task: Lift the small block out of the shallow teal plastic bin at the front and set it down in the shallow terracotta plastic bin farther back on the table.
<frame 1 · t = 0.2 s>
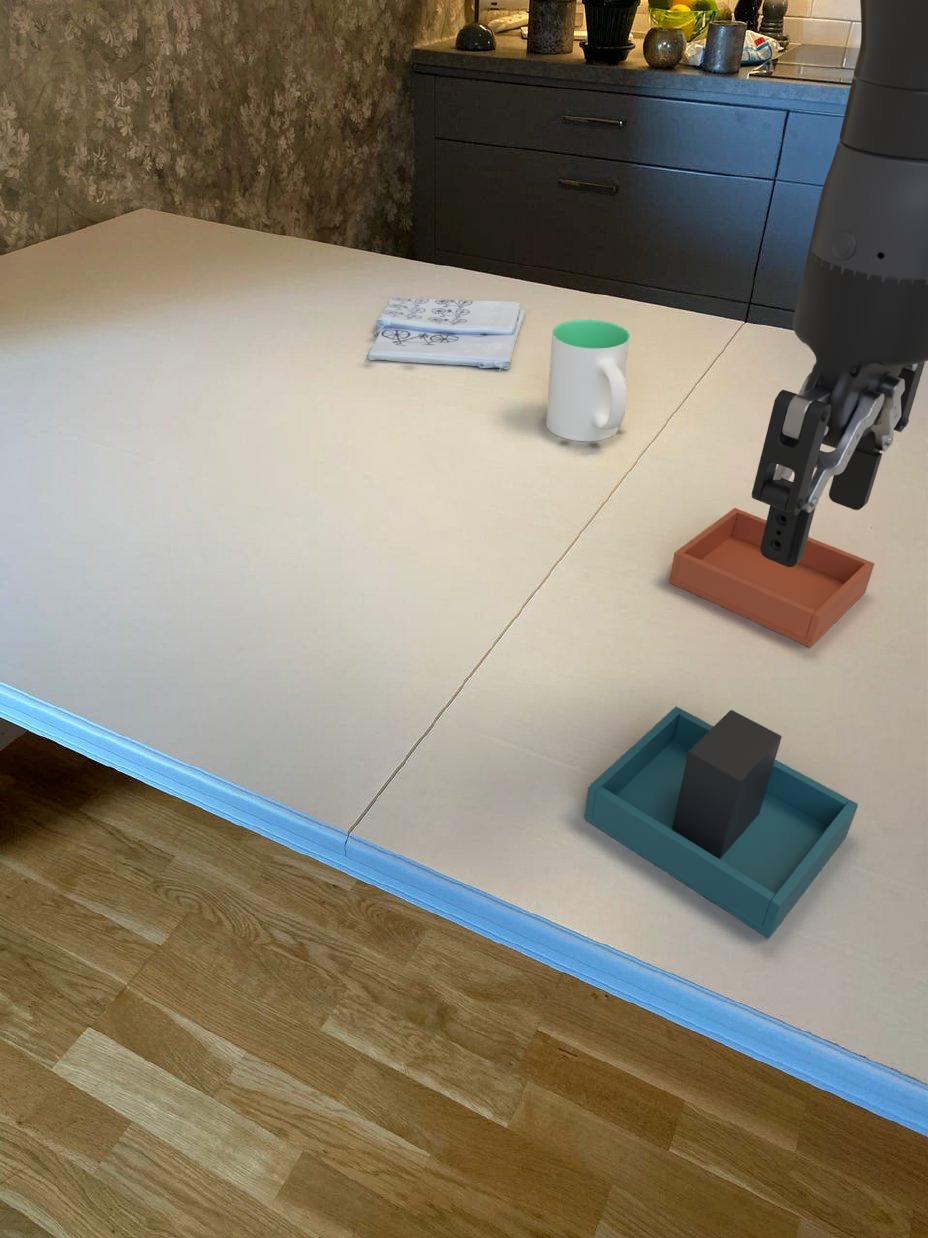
hand: (814, 530, 57), 18 cm above the table, tool pointing down, fingers open, 8 cm apart
teal bin: (714, 828, 63), on the table
terracotta bin: (766, 587, 84), on the table
block: (715, 822, 62), point 1 cm above the table, touching teal bin
light blue folded towel: (446, 339, 128), on the table
mug: (590, 433, 107), on the table
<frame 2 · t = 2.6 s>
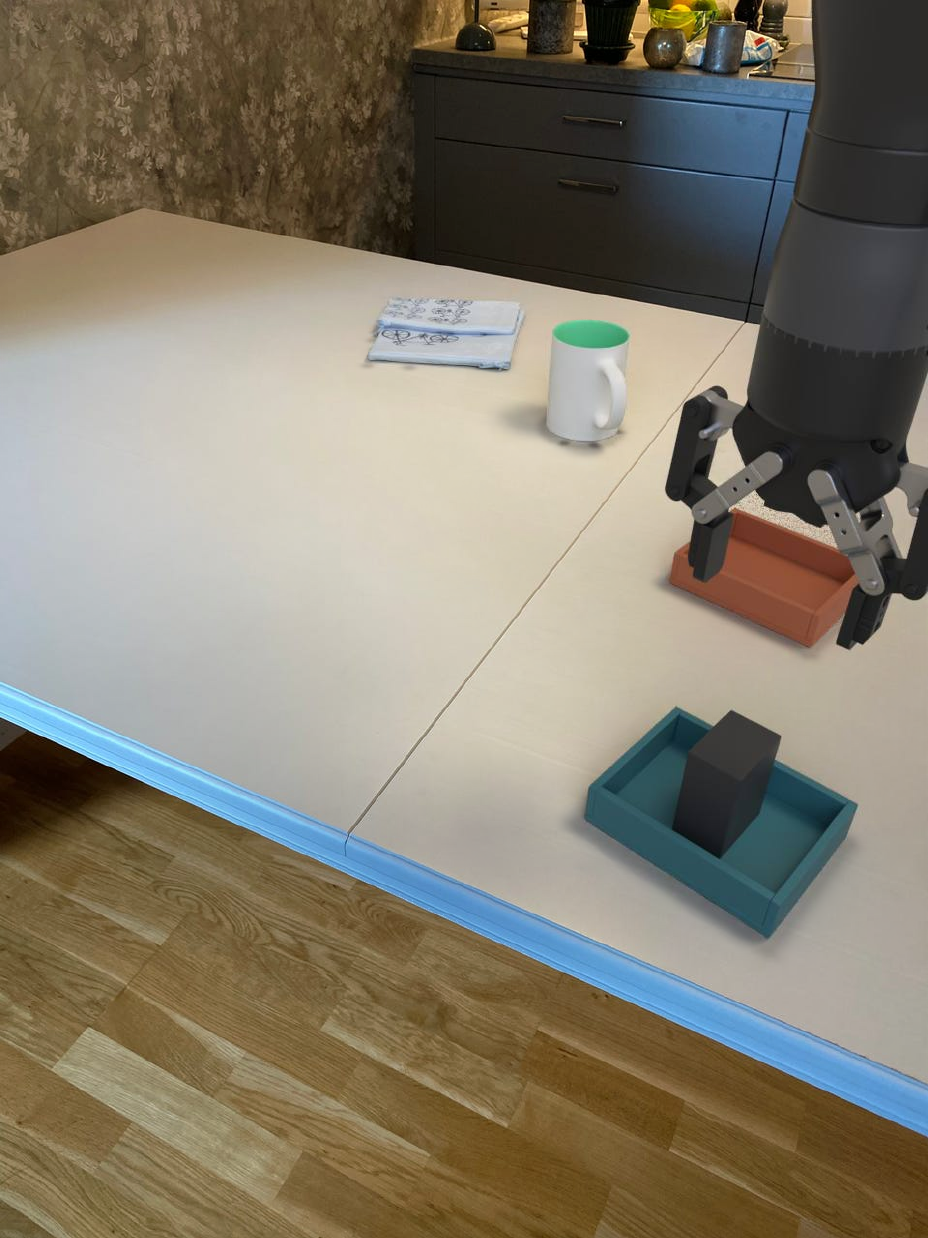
hand: (775, 606, 53), 17 cm above the table, tool pointing down, fingers open, 8 cm apart
nothing on the table moved.
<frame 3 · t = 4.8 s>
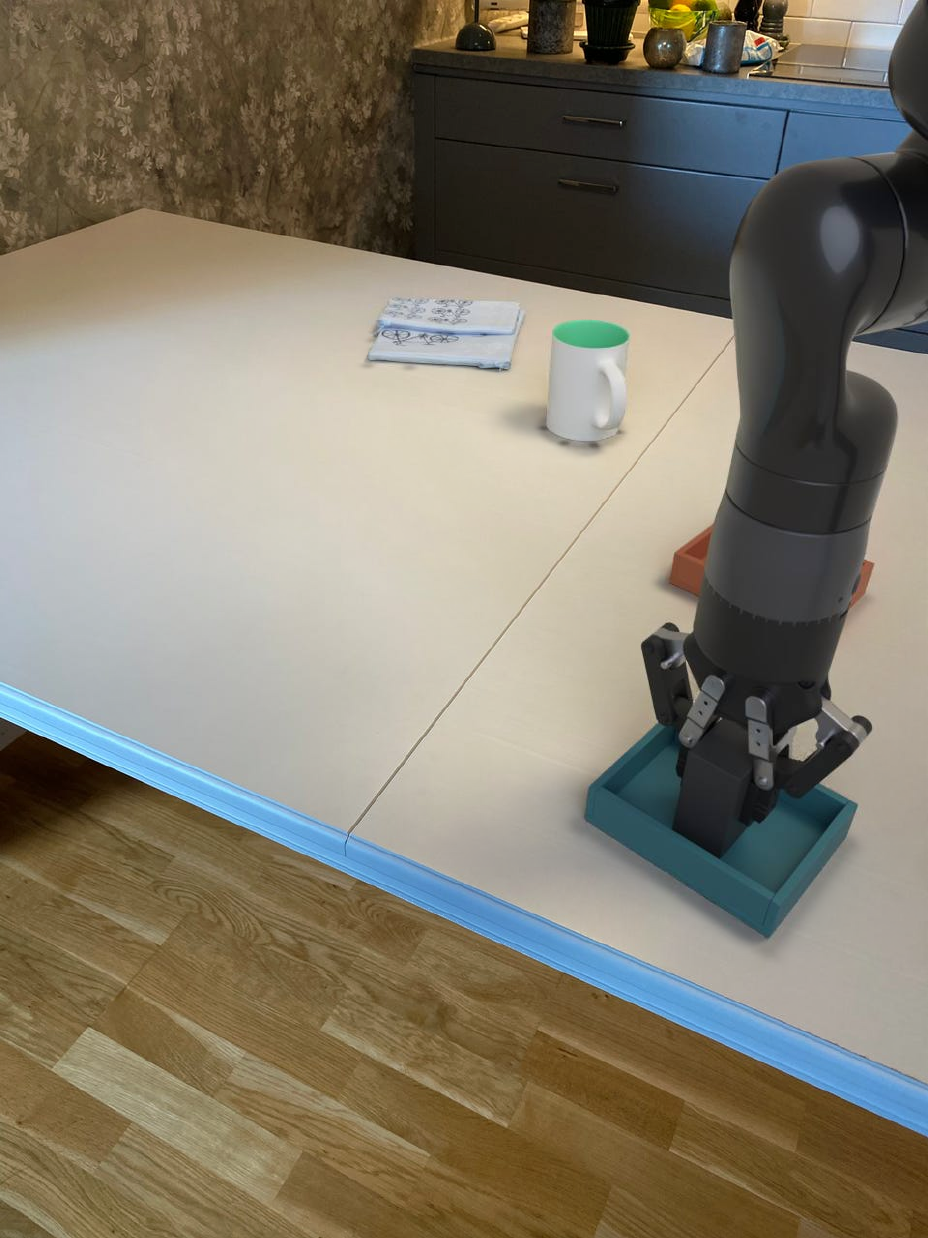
hand: (722, 798, 61), 3 cm above the table, tool pointing down, fingers closed on block, 3 cm apart
block: (715, 822, 62), point 1 cm above the table, touching gripper, teal bin
everything else where it was.
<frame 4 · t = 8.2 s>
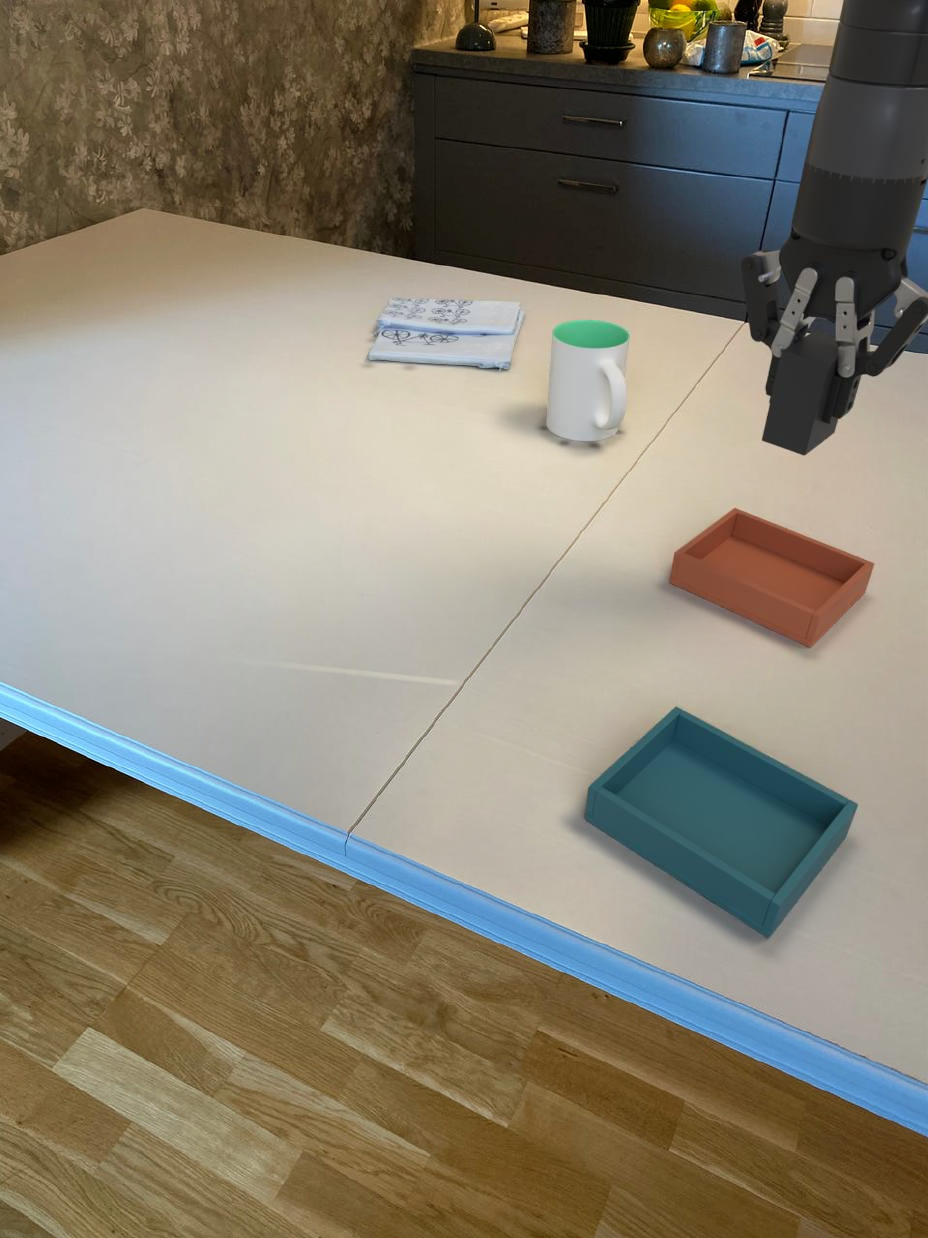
hand: (805, 409, 72), 18 cm above the table, tool pointing down, fingers closed on block, 3 cm apart
block: (798, 436, 73), point 15 cm above the table, touching gripper
everything else where it was.
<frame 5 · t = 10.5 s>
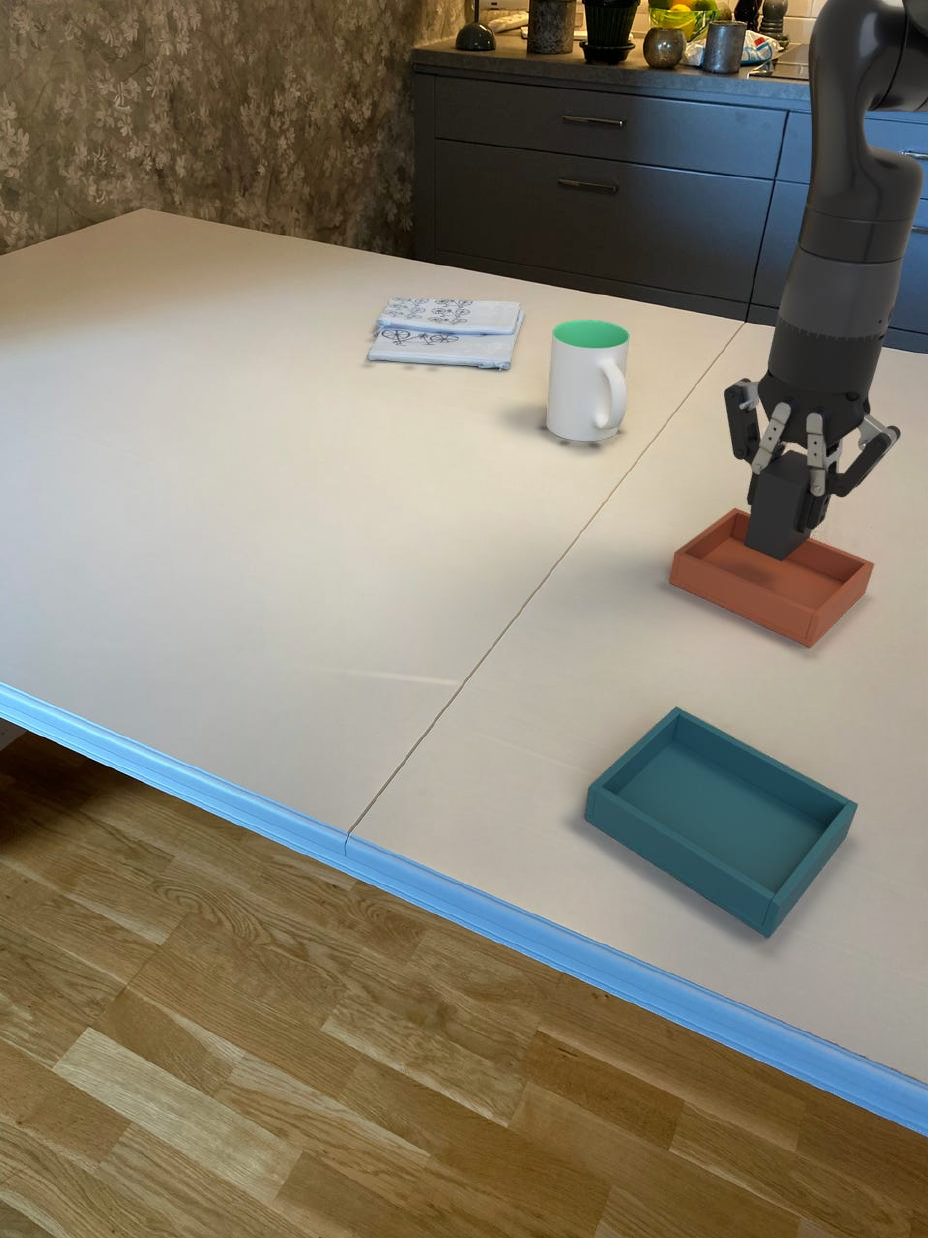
hand: (782, 519, 80), 7 cm above the table, tool pointing down, fingers closed on block, 3 cm apart
block: (776, 541, 81), point 5 cm above the table, touching gripper
everything else where it was.
when the fingers open (3 cm above the table, at t = 12.0 s): block stays where it is, resting on terracotta bin.
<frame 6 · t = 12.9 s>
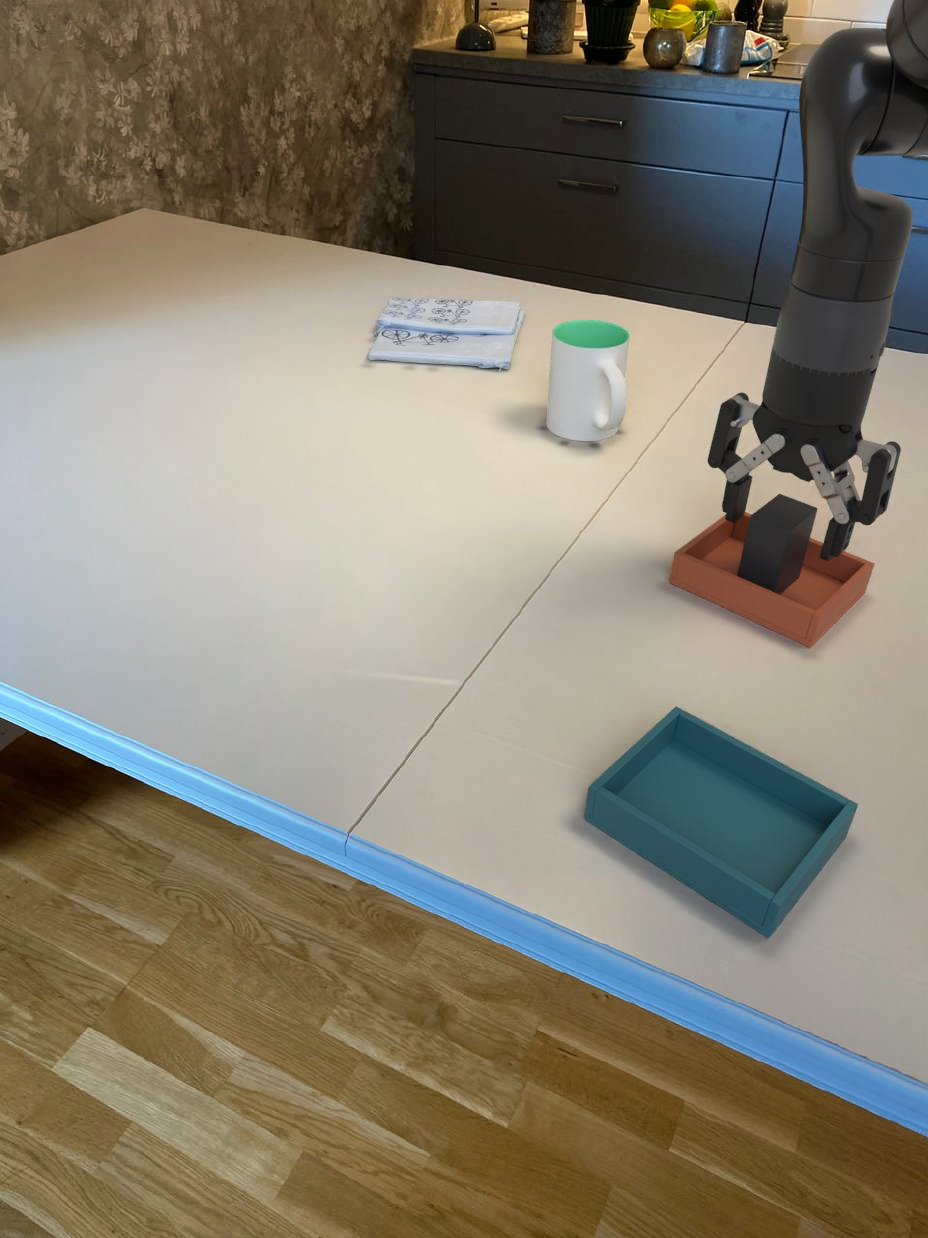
hand: (780, 536, 81), 5 cm above the table, tool pointing down, fingers open, 8 cm apart
block: (767, 582, 84), point 1 cm above the table, touching terracotta bin
everything else where it was.
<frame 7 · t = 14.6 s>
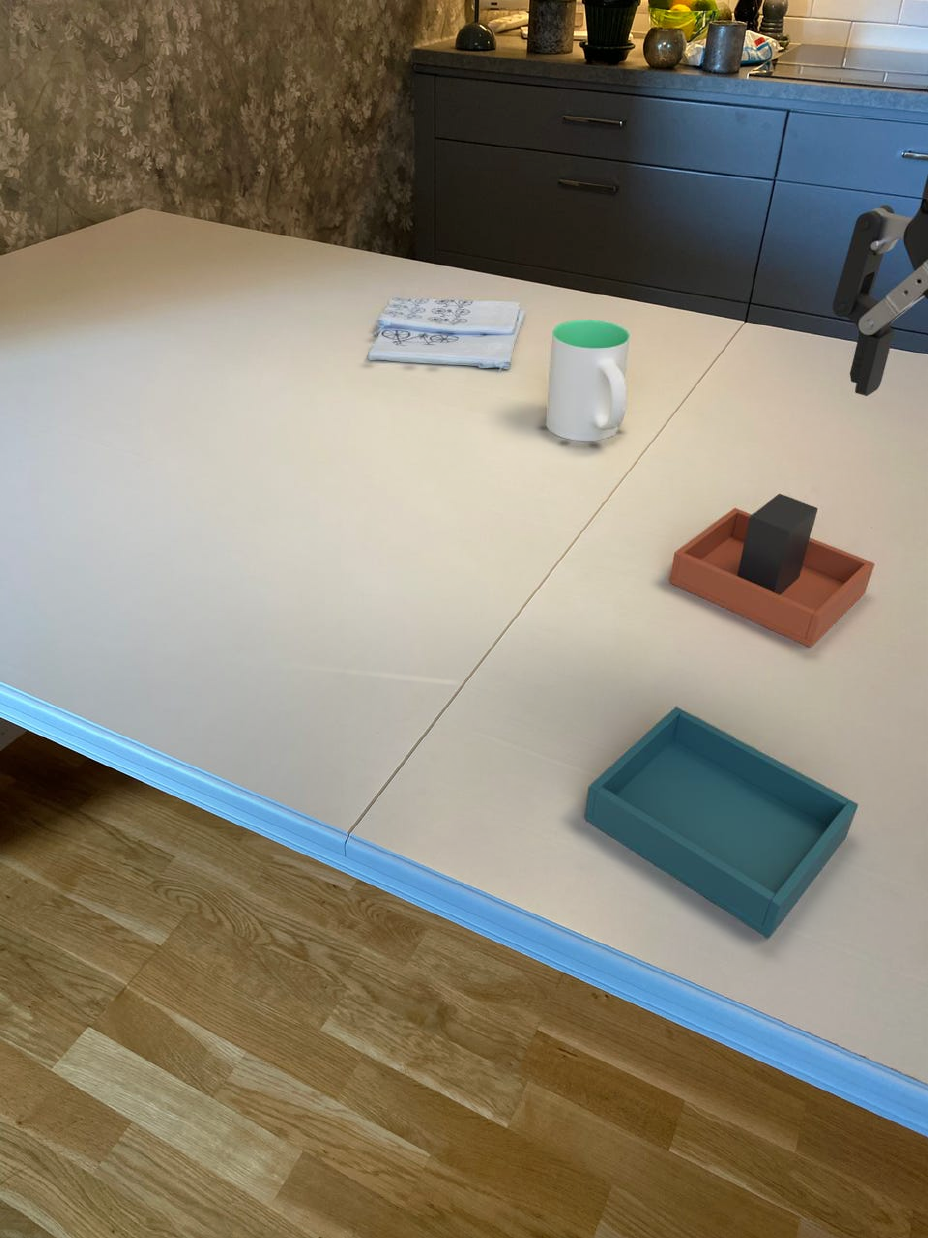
nothing on the table moved.
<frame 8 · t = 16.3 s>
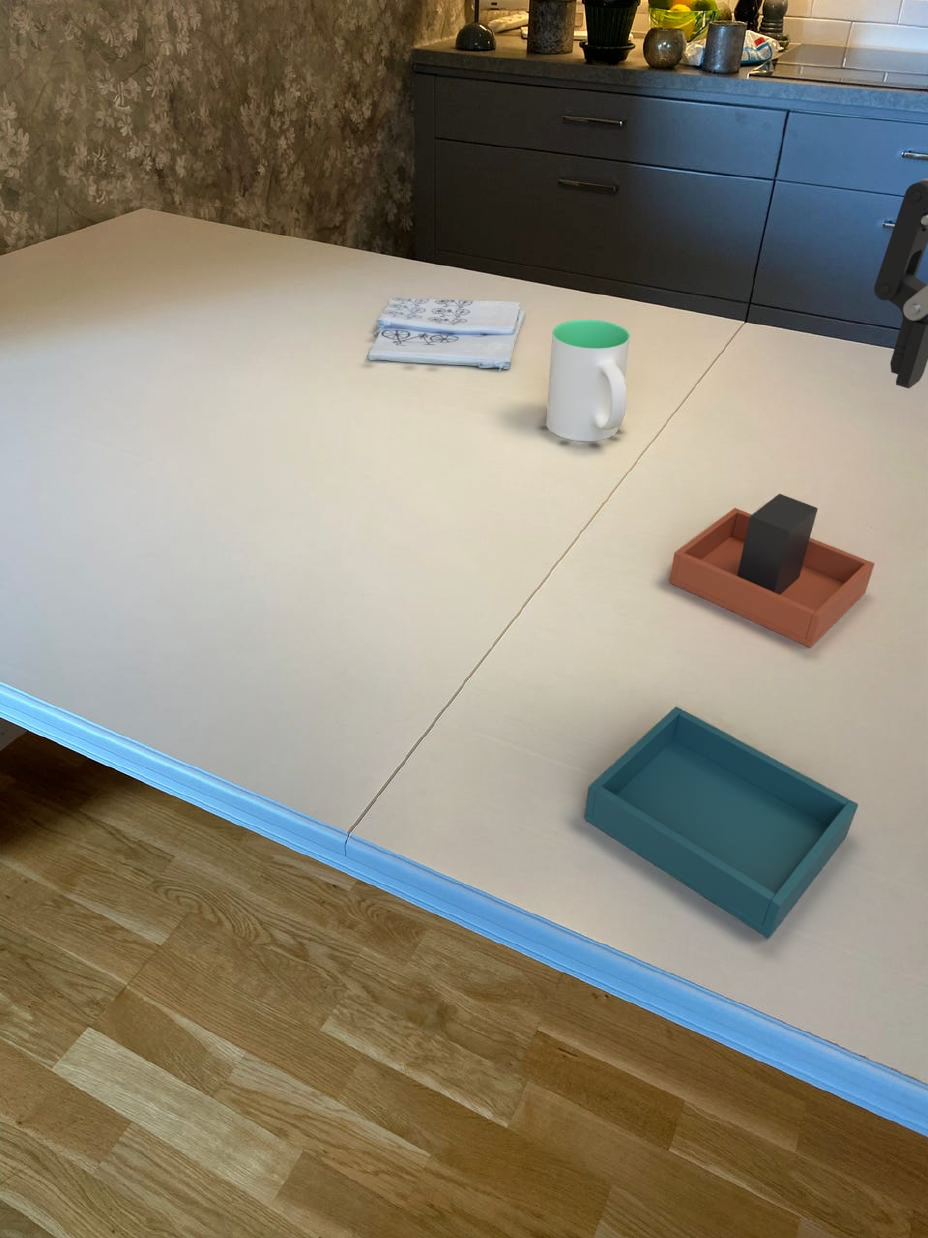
nothing on the table moved.
at the end: block inside the target area in the terracotta bin (0.1 cm from its centre), point 0.6 cm above the terracotta bin's base; the gripper is holding nothing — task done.
